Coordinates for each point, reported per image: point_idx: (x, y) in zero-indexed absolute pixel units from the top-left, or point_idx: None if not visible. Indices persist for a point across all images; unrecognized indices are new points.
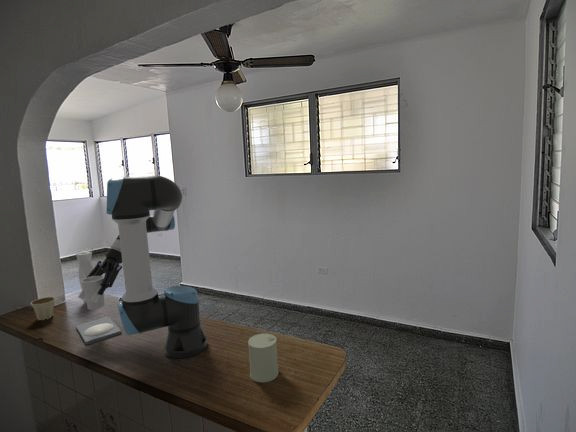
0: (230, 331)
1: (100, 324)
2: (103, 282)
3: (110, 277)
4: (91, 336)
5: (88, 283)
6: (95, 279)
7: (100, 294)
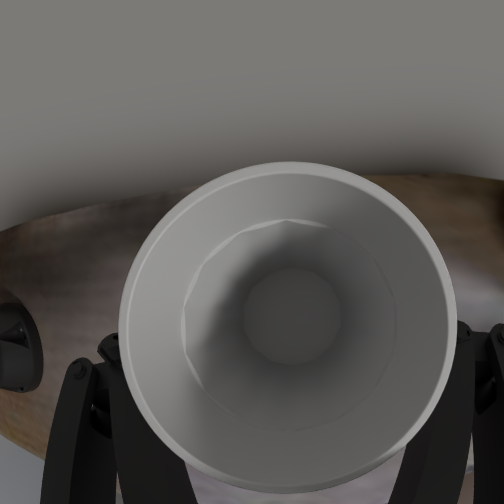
0: (17, 427)
1: None
2: (123, 383)
3: (51, 438)
4: None
5: (184, 215)
6: (382, 416)
7: None
